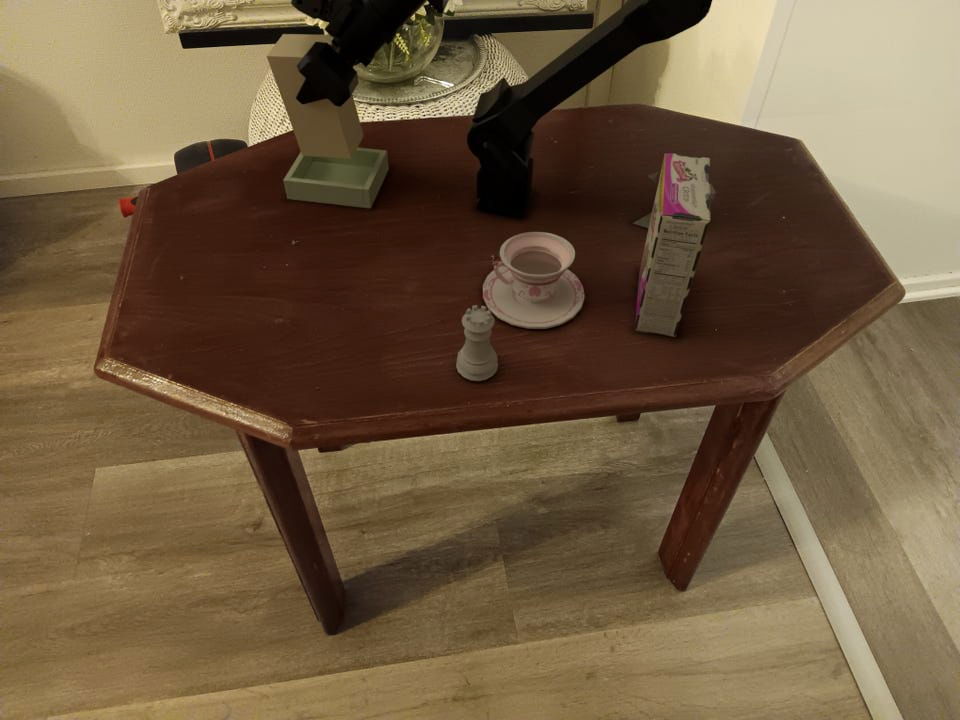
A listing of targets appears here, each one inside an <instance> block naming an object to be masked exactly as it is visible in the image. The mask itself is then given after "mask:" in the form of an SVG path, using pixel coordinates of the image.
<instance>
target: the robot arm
mask: <svg viewBox="0 0 960 720" xmlns="http://www.w3.org/2000/svg"><path fill="white" fill-rule="evenodd" d="M427 2H428V4H429V5H430V6H431V7H432V8H433V9H434V10H435V11H436V12H437V14H440V15H441V14H443V13H444V12H445V10H446V8H447V5H448V3H449V2H450V0H290V3H291V5H292V7H293V8H294V9H296V10H297V11H298V12H300V13H302V14H304V15H306V16H308V17H310V18H311V19H313V20H317V19H318V20H320V21H322V22H324V23H327V25H326V26H325V27H324V29H323V30H324V31H325V32H326V33H327V35H330V36H331V37H334V38H333V39H332V41H331V42H330V45H331V46H332V47H333V48H334V49H335V50H337V49H338V47H340V49H339V51H338V52H336V51H335V50H334V49H333V48H332V47H331V46H330V45H329V44H328V43H326V42H315V43H314V44H313V45H312V46H311V48H310V49H309V50H308V51H307V52H306V54H305V55H304V56H303V58H302V59H301V60H300V62H299V63H298V64H297V68H298V71H299V72H300V73H301V74H302V75H303V76H304V77H305V78H306V79H305V81H304V83H303V85H302V87H301V89H300V90H299V92H298V94H297V96H296V99H297V100H298V101H299V102H300V103H301V104H307V103H311V102H315V101H319V100H323V99H329V100H330V101H331V102H332V103H333V104H334V105H335V106H339V107H341V106H342V105H343V104H344V103H345V102H346V101H347V100H348V99H349V98H350V97H351V95H353V94H354V92H355V90H356V88H357V87H358V85H359V75H358V71H357V70H356V69H355V68H354V67H355V66H357V65H359V64H361V65H363V66H364V67H365V68H367V67H368V66H369V65H370V64H371V63H372V62H373V60H374V58H375V57H376V55H377V54H378V53H379V52H380V50H381V49H382V48H383V47H384V46H385V45H390V44H391V43H392V42H393V41H394V40H395V37H396V36H397V34H398V32H399V31H400V30H401V29H402V27H404V26H405V25H406V24H407V22H408V21H410V20H411V18H412V17H413V16H414V15H415V14H416V13H417V12H418V11H419V10H420V9H421V8H422V7H424V5H425V4H426V3H427ZM712 3H713V0H626V2H625V3H624V4H623V5H622V6H621V8H619V9H618V10H617V11H615V12H614V13H613V14H612V15H610V16H609V17H608V18H606V19H605V20H604V21H603V22H601V23H599V24H598V25H597V26H596V27H594V28H593V29H592V30H591V31H589V32H588V33H586V35H584V36H583V37H582V38H580V39H578V41H576V42H575V43H573V45H571V46H570V47H569V48H567V49H566V50H565V51H563V52H562V53H561V54H559V55H558V56H557V57H555V58H554V59H552V61H550V62H549V63H548V64H546V65H545V66H544V67H542V68H541V69H540V70H539V71H537V72H536V73H535V74H533V75H532V76H531V77H530V78H528V79H527V80H525V81H523V82H521V83H518V84H514V85H510V84H509V82H508V80H507V79H506V77H502V78H501V79H500V80H499V81H498V82H497V83H495V85H494V86H493V87H492V88H490V89H488V90H487V91H483V92H481V93H480V95H479V98H478V101H477V104H476V107H475V110H474V112H473V115H472V118H471V122H470V124H469V129H468V131H467V135H466V143H467V146H468V149H469V151H470V152H471V154H472V155H473V156H475V157H476V158H477V159H478V162H479V165H480V166H479V167H478V169H477V171H476V198H477V199H478V202H477V204H476V210H477V211H479V212H485V213H491V214H494V215H495V214H496V215H501V216H504V217H505V216H506V217H511V218H516V219H524V217H525V215H526V213H527V210H528V208H529V206H530V203H531V201H532V199H533V196H534V195H535V189H534V188H533V187H532V186H533V173H534V162H535V160H534V158H532V157H531V153H532V148H533V142H534V138H535V132H534V130H533V128H534V127H535V125H536V124H537V123H538V122H539V121H540V119H541V118H542V117H544V116H545V115H547V114H549V112H551V111H552V110H554V109H555V108H557V107H558V106H559V105H561V104H562V103H564V102H565V101H566V100H567V99H569V98H570V97H572V96H573V95H575V94H576V93H577V92H579V91H580V90H581V89H583V88H584V87H586V86H587V85H589V84H590V83H592V81H595V80H596V79H597V78H598V77H600V76H601V75H602V74H604V73H606V72H607V71H608V70H609V69H611V68H612V67H614V66H615V65H616V64H618V63H619V62H620V61H622V60H623V59H625V58H626V57H628V56H629V55H631V54H632V53H633V52H634V51H635V50H637V49H639V48H640V47H642V46H646V45H650V44H654V43H658V42H662V41H667V40H669V39H671V38H673V37H675V36H677V35H679V34H681V33H683V32H685V31H687V30H690V29H691V28H693V27H695V26H696V25H698V24H700V23H701V22H702V21H703V20H704V19H705V18H706V17H707V16H708V14H709V13H710V11H711V7H712Z"/></svg>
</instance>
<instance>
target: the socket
mask: <svg viewBox="0 0 960 720" xmlns="http://www.w3.org/2000/svg"><path fill="white" fill-rule="evenodd" d="M389 169H390V168H389V155H388V150H385V149H375V148H368V147H367V148H365V147H359V146H358V147H357V149H356V151H355V153H354V155H353V157H352V158H351V159H347V158H331V157H315V156H302V153H301V152H299V154H298V156H297V157H296V159H295V161H294V162H293V163H292V165H291V166H290V169H289V170H288V172H287V173H286V175H285V177H284V178H283V185H284V189H285V194H286V199H287V200H292V201H301V202H311V203H317V204H318V203H319V204H329V205H336V206H337V205H338V206H345V207H354V208H360V209H361V208H362V209H370V210H371V209H372V207H373V205H374V202H375V200H376V198H377V196H378V194H379V191H380V189H381V187H382V186H383V183H384V181H385V178H386V176H387V174H388V172H389Z"/></svg>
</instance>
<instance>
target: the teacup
mask: <svg viewBox="0 0 960 720" xmlns="http://www.w3.org/2000/svg"><path fill="white" fill-rule="evenodd" d="M575 257H576V251H575V248H574V246H573V244H572V243H570V241H568V240H567V239H566V238H564V237H562V236H559V235H557V234H554V233H550V232H546V231H545V232H544V231H527V232H521V233H519V234H516V235H513V236H511V237H510V238H508V239H506V240H505V241H504V242H503V243H502V245H501V246H500V248H499V258H500V260H495V261H493V262H492V266H493V270H492V271H491V272H490V273H489V274H488V275H486V278H485V280H484V282H483V284H482V299H483V302H484V303H485V305H486V308H487V309H488V310H490V312H491V314H492V315H494V316H495V317H496V318H497V319H499V320H501V321H503V322H504V323H507V324H508V325H510V326H515V327H518V328H523V329H527V330H546V329H551V328H555V327H558V326H562V325H565V323H567V322H569V321H571V320H573V319H574V318H575V317H576V316H577V315H578V313H580V311H581V310H582V307H583V305H584V301H585V297H586V296H585V291H584V289H585V288H584V285H583V283H582V282H581V280H580V279H579V277H578V276H577V275H576V274H575V273H574V272H572V271H571V270H570V269H569V268H570V266H571V265H573V262H574V261H575Z"/></svg>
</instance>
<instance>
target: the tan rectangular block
mask: <svg viewBox="0 0 960 720" xmlns="http://www.w3.org/2000/svg"><path fill="white" fill-rule="evenodd" d="M333 38H334V37H331V36H330V35H329V34H306V33H305V34H304V33H303V34H302V33H301V34H300V33H295V34H294V33H283V34H282V35H281V36H280V38H279V39H278V40H277V41H276V42H275V44H274V45H273V47H272V48H271V49H270V51H269V52H268V53H267V55H266V58H267V61H268V65H269V67H270V70H271V73H272V76H273V78H274V81H275V84H276V86H277V90H278V92H279V95H280V97H281V101H282V103H283V106H284V108H285V111H286V114H287V117H288V120H289V122H290V125H291V128H292V131H293V133H294V136H295V138H296V141H297V144H298V148H299V150H300V153H302V156H315V157H331V158H347V159H351V158H352V157H353V155H354V153H355V151H356V149H357V147H358V148H359V145H360V144H361V142H362V141H363V139H364V136H365V135H364V131H363V127H362V123H361V121H360V116H359V113H358V110H357V105H356V103H355V98H354V94H352V95H351V97H350V98H349V99H348V100H347V101H346V102H345V103H344V104H343V105H342V106H341V107H339V106H335V105H334V104H333V103H332V102H331V101H330V100H329V99H323V100H319V101H315V102H311V103H307V104H301V103H300V102H299V101H298V100H297V99H296V96H297V94H298V92H299V90H300V89H301V87H302V85H303V83H304V81H305V79H306V78H305V77H304V76H303V75H302V74H301V73H300V72H299V71H298V68H297V64H298V63H299V62H300V60H301V59H302V58H303V56H304V55H305V54H306V52H307V51H308V50H309V49H310V48H311V46H312V45H313V44H314V43H315V42H326V43H328V44H329V45H330V42H331V41H332V39H333ZM330 46H331V45H330ZM331 47H332V46H331ZM332 48H333V47H332ZM333 49H334V48H333ZM339 49H340V47H338V49H337V50H335V49H334V50H335V51H336V52H338V51H339Z"/></svg>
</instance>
